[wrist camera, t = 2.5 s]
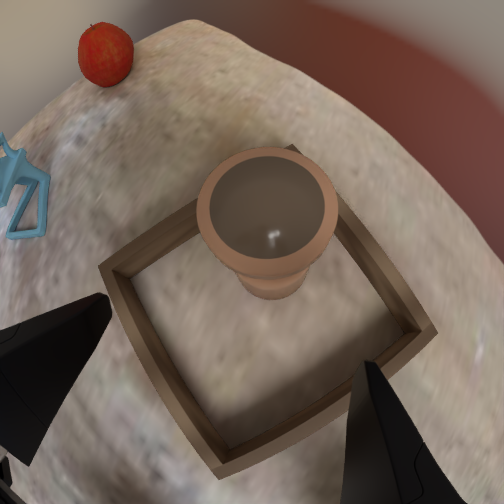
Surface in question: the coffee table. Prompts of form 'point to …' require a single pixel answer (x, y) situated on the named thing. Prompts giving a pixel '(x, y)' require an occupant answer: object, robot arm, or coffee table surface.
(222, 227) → the terracotta pot
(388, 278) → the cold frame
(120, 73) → the apple
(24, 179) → the chair
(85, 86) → the coffee table surface
